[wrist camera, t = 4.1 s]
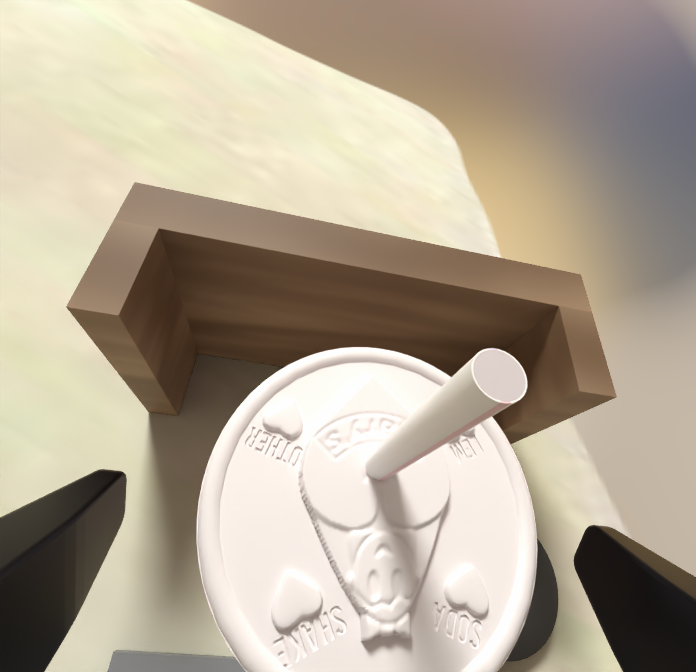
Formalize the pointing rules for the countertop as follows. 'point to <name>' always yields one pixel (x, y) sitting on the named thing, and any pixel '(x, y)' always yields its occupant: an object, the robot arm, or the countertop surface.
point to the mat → (171, 662)
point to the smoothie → (370, 517)
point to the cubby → (325, 303)
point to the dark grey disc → (538, 610)
